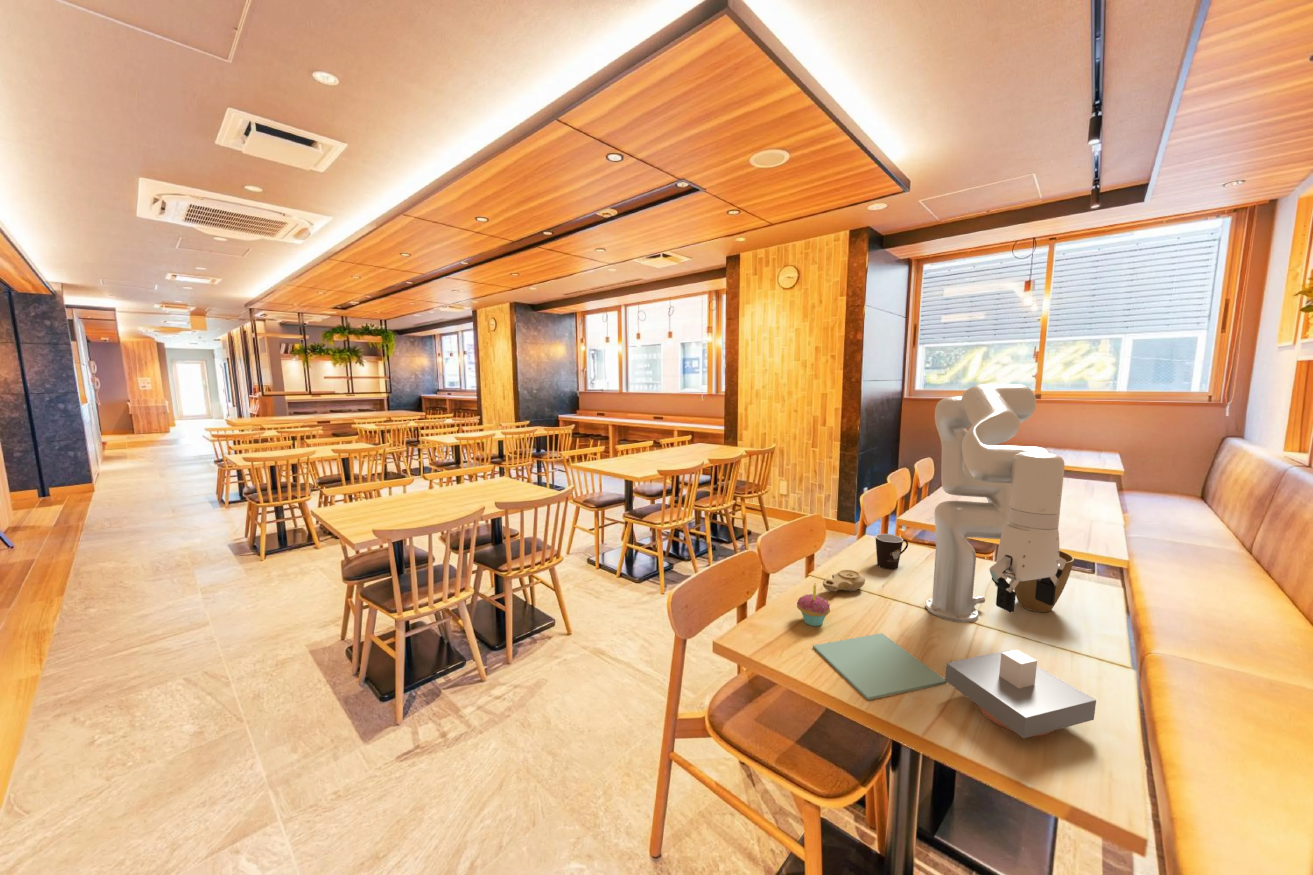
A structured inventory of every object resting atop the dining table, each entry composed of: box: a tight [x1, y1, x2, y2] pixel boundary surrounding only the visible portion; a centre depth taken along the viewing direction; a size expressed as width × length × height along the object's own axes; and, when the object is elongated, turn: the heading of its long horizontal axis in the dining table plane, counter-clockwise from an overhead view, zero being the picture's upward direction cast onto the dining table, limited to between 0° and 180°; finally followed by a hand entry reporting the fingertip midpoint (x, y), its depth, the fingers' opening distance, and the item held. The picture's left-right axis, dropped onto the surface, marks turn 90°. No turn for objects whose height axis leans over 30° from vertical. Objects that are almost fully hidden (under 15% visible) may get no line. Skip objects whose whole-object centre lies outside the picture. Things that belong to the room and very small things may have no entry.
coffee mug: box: [874, 533, 909, 571], centre depth 167 cm, size 12×9×10 cm
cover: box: [944, 649, 1097, 739], centre depth 96 cm, size 17×17×9 cm
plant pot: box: [1010, 549, 1075, 613], centre depth 138 cm, size 15×15×16 cm
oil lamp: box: [822, 569, 866, 592], centre depth 150 cm, size 11×14×5 cm
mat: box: [812, 632, 948, 701], centre depth 113 cm, size 20×20×1 cm
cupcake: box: [796, 584, 831, 627], centre depth 131 cm, size 9×8×12 cm
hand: (1024, 605), depth 93 cm, fingers open, 9 cm apart
